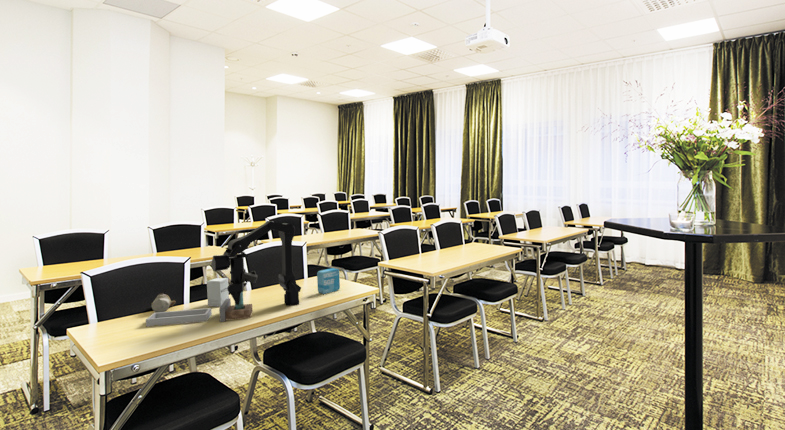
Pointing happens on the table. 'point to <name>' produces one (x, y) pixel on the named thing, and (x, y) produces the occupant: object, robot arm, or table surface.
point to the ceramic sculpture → (162, 303)
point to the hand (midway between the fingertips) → (239, 302)
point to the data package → (328, 280)
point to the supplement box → (217, 291)
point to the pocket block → (239, 312)
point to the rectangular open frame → (179, 317)
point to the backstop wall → (224, 309)
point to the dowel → (240, 303)
